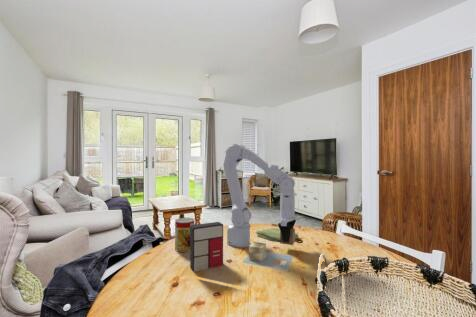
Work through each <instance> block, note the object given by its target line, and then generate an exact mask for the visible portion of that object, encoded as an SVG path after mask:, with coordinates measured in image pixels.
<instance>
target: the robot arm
mask: <svg viewBox="0 0 476 317" xmlns="http://www.w3.org/2000/svg"><path fill="white" fill-rule="evenodd" d="M243 160H247V161H250V162H252V163H253V164H254V165H256V166H257V167H258V168H260V169H262V171H263V172H264V176H266V177H267V179H269V180H271V181H272V182H273V183H275V184H276V185H278V187H279V189H280V197H279V198H280V199H279V202H280V205H279V206H280V207H279V211H280V212H279V214H280V215H279V220H280V222H279V223H277V226H278V229H280V231H281V234H282V239H283V242H289V238H290V232H291V229H294V226H295V223H296V222H297V220H298V216H295V214H296V213H295V212H296V211H295V209H296V208H295V203H296V202H295V199H296V198H295V196H296V195H295V186H296V182H295V179H294V178H293V177H292V176H291V175H289V174H288V173H287V172H284V170H282V169H280V167H279V165H278V164H276V165H275V164H268V162H266V161H265V160H264V159H263V158H261V157H260V156H259V155H258V154H257V153H255V152H254V151H253V150H252V149H249V148H248V147H246V146H245V145H243V144H242V145H241V144H237V143H233V144H230V145H229V147H228V148H227V149H226V150H225V156H224V162H223V169H224V174H225V178H226V183H227V186H228V191H229V195H230V196H229V197H230V198H231V199H230V200H231V205H232V207H231V224H229V225H228V227H227V229H226V230H227V231H226V234H227V236H226V241H227V243H226V245H227V246H232V247H236V248H249V246H250V245H251V235H250V234H251V224H250V222H249V221H251V219H252V213H251V211H250V210H249V208H248V204H247V203H246V202H245V200H244V196H243V190H242V188H241V183H240V179H239V175H238V170H237V166H238V165H239V164H240V162H241V161H243Z"/></svg>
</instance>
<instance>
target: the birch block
mask: <svg viewBox="0 0 476 317" xmlns="http://www.w3.org/2000/svg"><path fill="white" fill-rule="evenodd" d="M266 252H267V243H263V242H258V241H252V243H250V245H249V246H248V256H249V260H253V261H259V262H263V260H264V259H265V258H266Z"/></svg>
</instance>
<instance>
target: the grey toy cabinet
mask: <svg viewBox="0 0 476 317" xmlns="http://www.w3.org/2000/svg"><path fill="white" fill-rule="evenodd" d="M189 252H190V253H189V254H190V255H189V258H190V260H189V263H190V264H189V267H190V270H191V271H192V272H195V273H196V272H198V271H203V270H208V269H213V268H218V267H221V266H224V224H223V223H222V222H220V221H214V222H208V223H207V222H206V223H198V224H194V225H191V226H190V251H189Z"/></svg>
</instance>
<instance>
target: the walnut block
mask: <svg viewBox="0 0 476 317" xmlns="http://www.w3.org/2000/svg"><path fill="white" fill-rule="evenodd" d="M295 233H296V229H295V228H293V229H291V232H290V238H289V242H283V239H282V234H281V231H280V242H279V243H280V244H283V245H288V246H293V245H294V244H295V242H296V240H295Z"/></svg>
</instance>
